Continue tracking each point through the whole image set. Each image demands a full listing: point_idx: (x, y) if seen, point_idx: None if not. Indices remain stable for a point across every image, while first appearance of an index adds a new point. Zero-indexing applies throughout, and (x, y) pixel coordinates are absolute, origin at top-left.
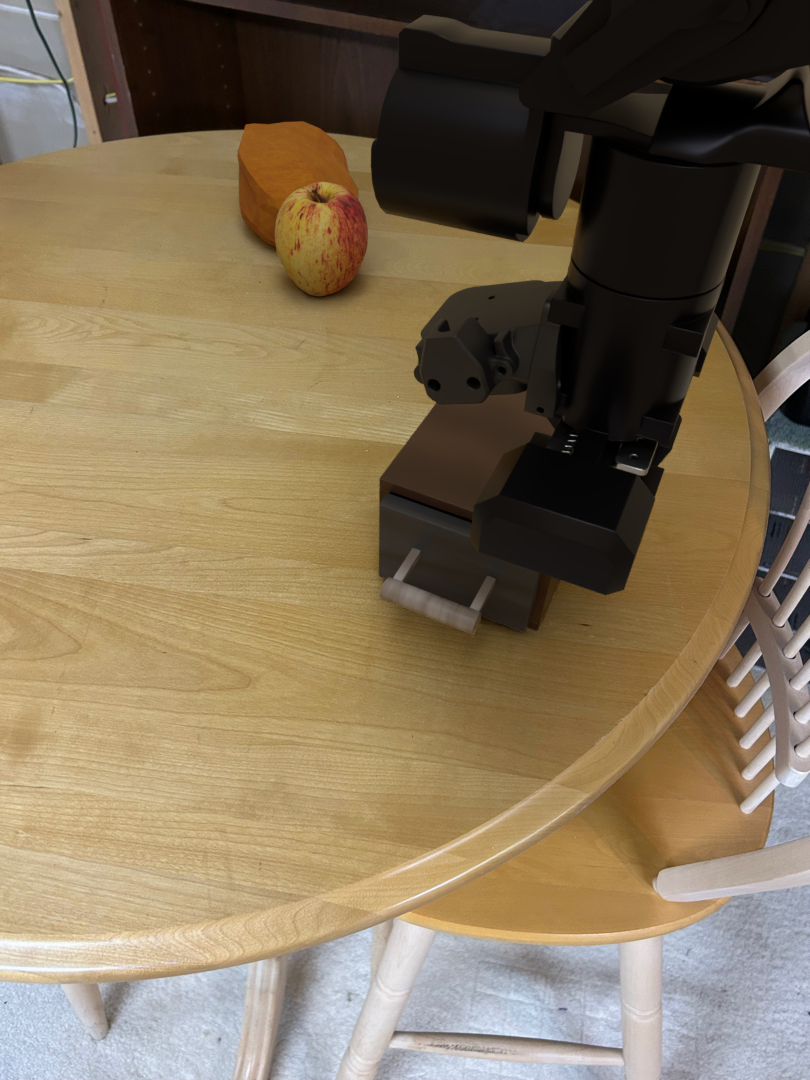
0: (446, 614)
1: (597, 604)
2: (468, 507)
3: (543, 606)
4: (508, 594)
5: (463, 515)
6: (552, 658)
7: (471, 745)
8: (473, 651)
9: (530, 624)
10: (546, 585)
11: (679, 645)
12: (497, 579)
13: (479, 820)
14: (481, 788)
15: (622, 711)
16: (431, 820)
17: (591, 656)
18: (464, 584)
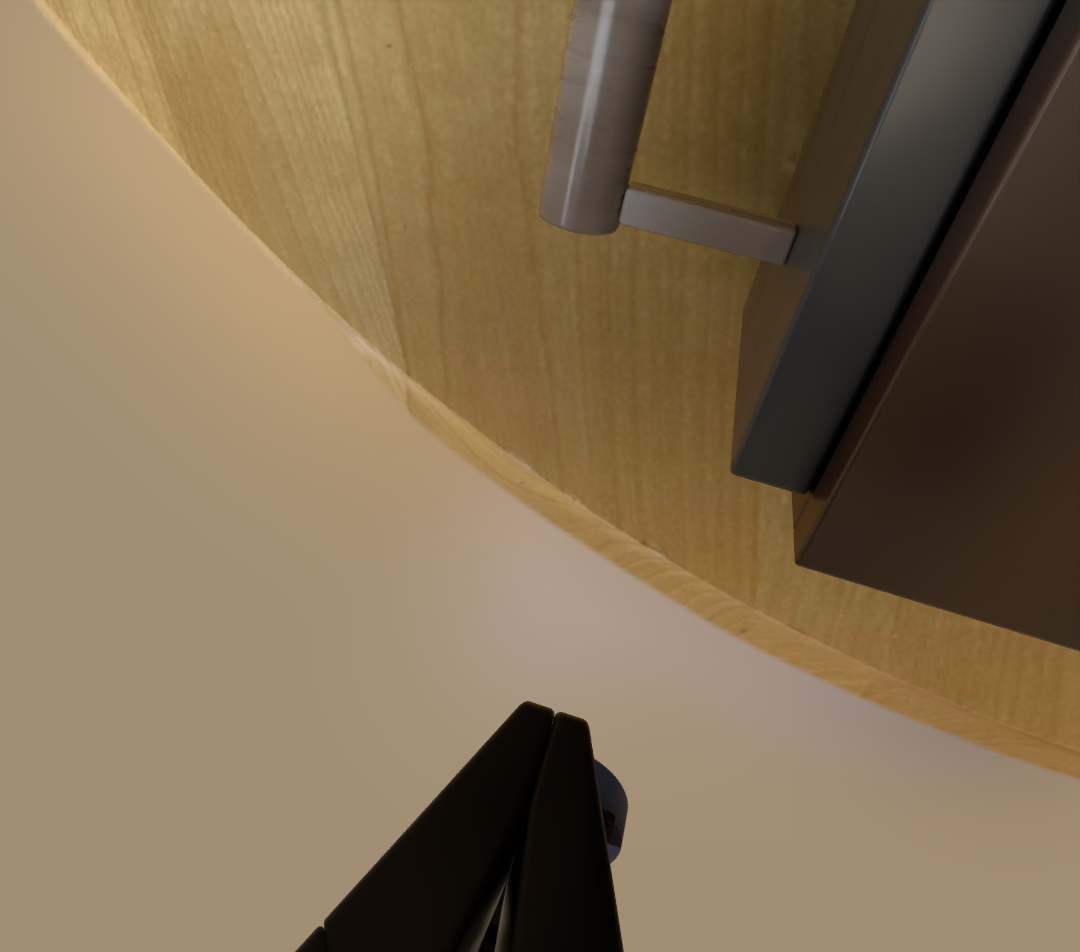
0: (563, 106)
1: None
2: (1037, 148)
3: None
4: (765, 298)
5: (1014, 113)
6: (702, 373)
7: (419, 206)
8: (689, 165)
9: None
10: None
11: (781, 614)
12: (782, 271)
13: (279, 248)
14: (338, 243)
15: (594, 502)
16: (233, 148)
17: (724, 455)
18: (826, 122)
